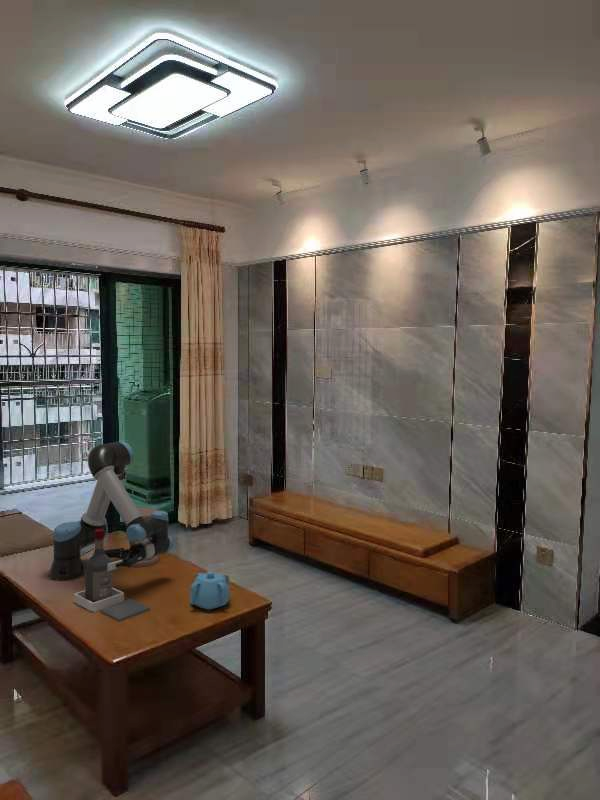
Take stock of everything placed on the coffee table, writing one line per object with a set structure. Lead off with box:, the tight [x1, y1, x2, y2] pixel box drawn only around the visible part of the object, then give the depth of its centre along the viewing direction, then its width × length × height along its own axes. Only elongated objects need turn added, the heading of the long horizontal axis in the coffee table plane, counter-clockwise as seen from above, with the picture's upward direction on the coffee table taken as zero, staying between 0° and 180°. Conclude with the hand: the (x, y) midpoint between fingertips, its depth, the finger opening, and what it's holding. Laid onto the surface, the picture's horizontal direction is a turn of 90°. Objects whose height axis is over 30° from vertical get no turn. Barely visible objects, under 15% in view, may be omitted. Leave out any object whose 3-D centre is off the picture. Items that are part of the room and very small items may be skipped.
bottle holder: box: [73, 586, 125, 613], centre depth 239 cm, size 15×15×4 cm
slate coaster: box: [99, 598, 151, 623], centre depth 231 cm, size 13×14×1 cm
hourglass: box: [121, 507, 160, 568], centre depth 288 cm, size 18×18×25 cm
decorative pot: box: [189, 571, 231, 610], centre depth 239 cm, size 16×16×14 cm
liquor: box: [84, 529, 114, 603], centre depth 238 cm, size 9×9×30 cm
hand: (98, 563), depth 237 cm, fingers open, 13 cm apart
